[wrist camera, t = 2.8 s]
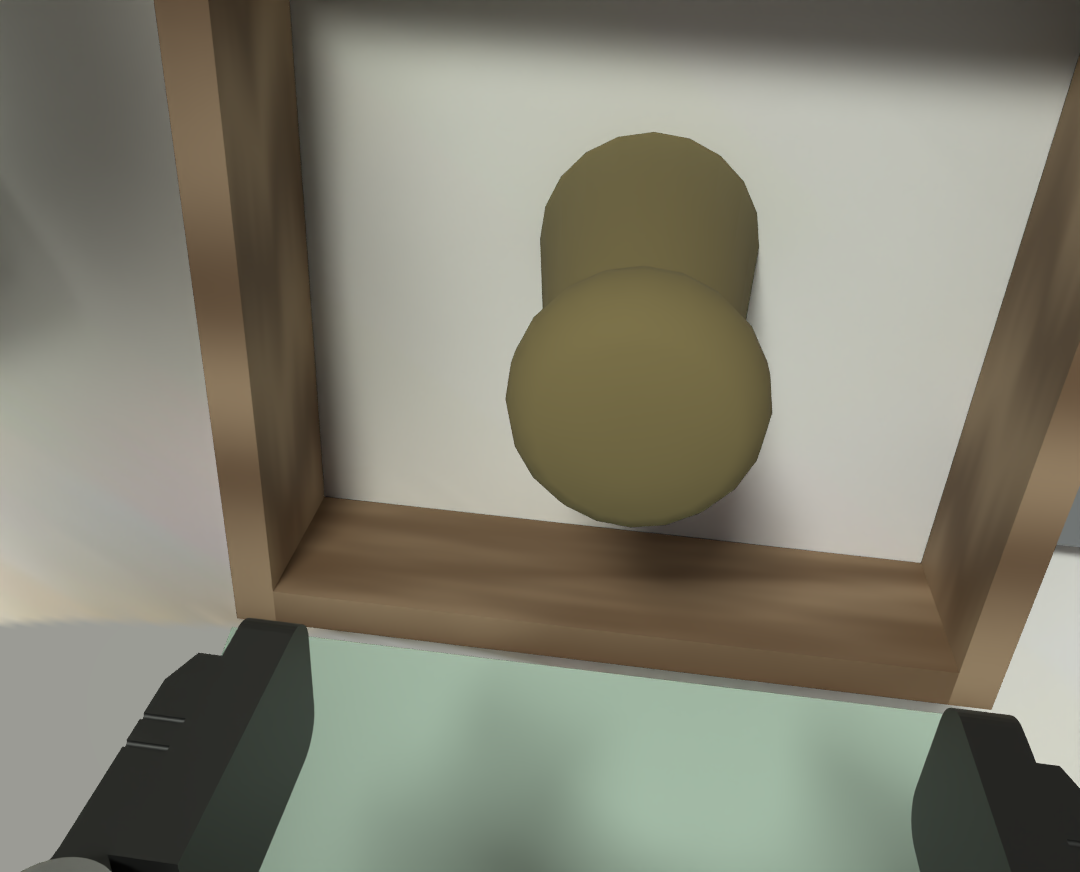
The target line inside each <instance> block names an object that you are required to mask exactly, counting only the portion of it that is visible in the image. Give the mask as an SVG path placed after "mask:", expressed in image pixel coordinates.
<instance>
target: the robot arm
mask: <svg viewBox="0 0 1080 872" xmlns="http://www.w3.org/2000/svg"><path fill="white" fill-rule="evenodd" d="M313 726H314V697H313V684H312V672H311V660H310V647H309V636H308V631H307V628H306V626H305V625H303V624H296V623H288V622H280V621H272V620H264V619H256V618H246V619H245V620H243V621H242V623H241V624H240V625H239V627H238V629H237V630H236V632H235V634H234V636H233V637H232V639H231V641H230V643H229V644H228V646H227V648H226V649H225V651H224V653H223V655H222V656H218V655H211V654H204V653H198V654H197V655H195V656H194V657H193V658H192V659H190V660H189V661H188V662H187V663H185V664H184V665H183V666H182V667H180V668H179V669H178V670H176V671H175V672H174V673H173V674H171V675H170V676H169V677H168V678H166V679H165V680H164V682H163V683H162V685H161V686H160V688H159V690H158V691H157V693H156V694H155V696H154V698H153V699H152V701H151V702H150V704H149V706H148V707H147V709H146V710H145V712H144V717H143V719H140V720H139V721H138V723H137V725H136V726H135V728H134V729H133V731H132V733H131V734H130V736H129V737H128V739H127V744H126V746H125V747H122V748H121V750H120V752H119V753H118V755H117V756H116V758H115V760H114V761H113V763H112V764H111V766H110V768H109V769H108V771H107V772H106V774H105V775H104V777H103V779H102V780H101V782H100V783H99V785H98V786H97V788H96V790H95V791H94V793H93V794H92V796H91V798H90V799H89V801H88V802H87V804H86V806H85V807H84V809H83V810H82V812H81V813H80V815H79V817H78V818H77V820H76V822H75V823H74V825H73V826H72V828H71V829H70V831H69V832H68V834H67V836H66V837H65V839H64V840H63V842H62V844H61V845H60V847H59V848H58V850H57V851H56V852H55V854H54V855H53V857H52V858H51V859H50V860H48V861H45V862H41V863H38V864H36V865H34V866H31V867H29V868H27V869H25V870H23V871H21V872H259V870H260V868H261V865H262V863H263V861H264V858H265V856H266V853H267V851H268V849H269V846H270V844H271V841H272V839H273V837H274V834H275V832H276V829H277V827H278V825H279V822H280V820H281V817H282V815H283V813H284V810H285V808H286V805H287V803H288V801H289V798H290V796H291V793H292V791H293V788H294V786H295V784H296V781H297V779H298V776H299V774H300V772H301V769H302V767H303V764H304V762H305V759H306V757H307V754H308V751H309V747H310V743H311V738H312V733H313ZM911 829H912V839H913V844H914V849H915V853H916V857H917V861H918V866H919V870H920V872H1080V788H1079V787H1078V786H1077V785H1076V784H1075V783H1074V782H1073V780H1072V779H1071V778H1070V777H1069V776H1068V775H1067V774H1066V773H1065V771H1064V770H1063V769H1062V768H1061V767H1060V766H1055V765H1048V764H1040V763H1036V761H1035V759H1034V756H1033V754H1032V751H1031V749H1030V746H1029V744H1028V741H1027V738H1026V736H1025V733H1024V731H1023V729H1022V726H1021V724H1020V723H1019V721H1018V720H1017V719H1016V718H1015V717H1014V716H1012V715H1004V714H996V713H988V712H980V711H972V710H964V709H956V708H948V709H946V711H945V712H944V713H943V715H942V717H941V719H940V722H939V725H938V727H937V730H936V733H935V736H934V738H933V741H932V744H931V747H930V750H929V752H928V755H927V758H926V761H925V764H924V766H923V769H922V772H921V775H920V777H919V780H918V783H917V786H916V789H915V792H914V796H913V802H912V811H911Z"/></svg>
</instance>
